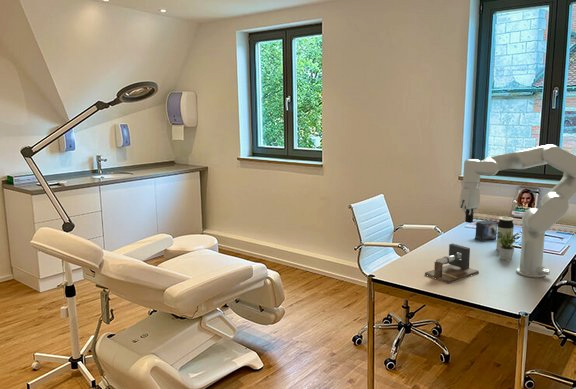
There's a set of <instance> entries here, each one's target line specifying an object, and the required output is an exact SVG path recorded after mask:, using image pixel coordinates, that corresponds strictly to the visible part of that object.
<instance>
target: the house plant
mask: <svg viewBox="0 0 576 389" xmlns="http://www.w3.org/2000/svg"><path fill="white" fill-rule="evenodd" d="M497 230H498V229H497ZM498 232H499V233H500V235H501V236H500V235H499V234H498V235H499V236H500V238H501V240H497V239H495V242H497V241H498V242H500V243H501V244H502V246H500V251H499V254H500V255H499V256H500V260H501V261H502V260H503V261H512V259H513V255H514V251H515V247H514V246H513V244H516V243H517V244H518V245H519V244H522V241H521V242H519V241H517V237H518V238H520V237H519V235H521V236H522V233H521V231H519V232H516V233H515V234H513V237H512V236H511V229H510V231H509V232H508V233H507V230H506V238H505V235H504V237H503V235H502V233H501V232H500V231H499V230H498ZM510 237H512V238H511V239H510ZM512 243H513V244H512ZM511 244H512V246H510V245H511Z"/></svg>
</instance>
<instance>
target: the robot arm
mask: <svg viewBox="0 0 576 389" xmlns="http://www.w3.org/2000/svg"><path fill="white" fill-rule="evenodd" d="M544 165H550V166H551V167H552V168H555V169H557V170H558V171H561V172H563V175H562V177H561V179H560V181H558V182H557V183H556V185H555V186H553V187H552V188H551V189H550V190H549V191H548V192H547V193H546V194H545V195H543V197H542V198H541V201H540V204H541V206H540V207H539V208H536V207H530V208H528V209H527V210H525V211H524V213H523V215H522V218H521V222H522V223H521V226H522V227H521V229H522V230H521V234H522V235H521V243H520V244H521V247H520V262H519V267H517V268H516V269H515V272H516V273H517V274H518V275H520V276H523V277H527V278H535V279H536V278H543V277H545V276H550V272H551V270H550V269H546V268H545V267H546V266H545V265H543V263H544V262H543V260H544V252H545V251H544V249H545V237H546V235H545V233H546V232H547V231H548V230H550V229H551V228H552V227H553V226H554V225H555V224H556V223H557V222H559V220H561V219H562V218H564V216H565V215H566V213H568V210H569V206H570V205H569V201H570V200H571V199H572V198H573V197H574V196H575V195H576V155H575V154H573V153H571V152H569V151H567V150H566V149H563V148H561V147H560V146H557V145H556V144H552V143H551V144H545V145H540V146H536V147H531V148H527V149H523V150H518V151H512V152H508V153H503V154H498V155H493V156H488V157H486V158H484V159H482V160H480V159H478V158H477V159H476V158H474V159H473V158H469V159H465V160H464V162H463V175H462V187H461V191H460V195H459V206H458V207H459V208H460V209H461V212H464V215H465V219H464V220H465V221H464V222H465V223H468V224H473V223H474V215H475V212H476V210H478V208H479V207H480V200H481V192H480V186H481V185H480V184H481V183H480V181H481V176H486V177H493V176H495V175H496V174H498V172H499V171H504V170H511V169H512V170H513V169H515V170H526V169H528V168H529V169H530V168H534V167H537V166H544Z"/></svg>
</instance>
